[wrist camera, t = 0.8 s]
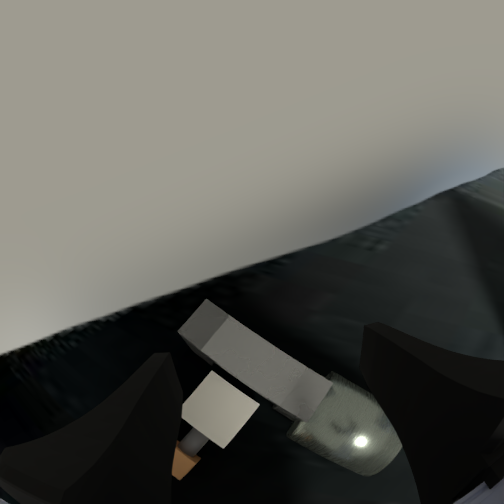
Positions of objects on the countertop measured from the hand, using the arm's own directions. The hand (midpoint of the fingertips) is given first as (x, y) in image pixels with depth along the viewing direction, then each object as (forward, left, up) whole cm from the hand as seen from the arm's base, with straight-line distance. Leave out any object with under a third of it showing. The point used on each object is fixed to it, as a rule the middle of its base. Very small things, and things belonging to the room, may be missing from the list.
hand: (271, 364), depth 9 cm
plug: (-5, +1, -13) cm, 14 cm away
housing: (+1, -2, -13) cm, 13 cm away
